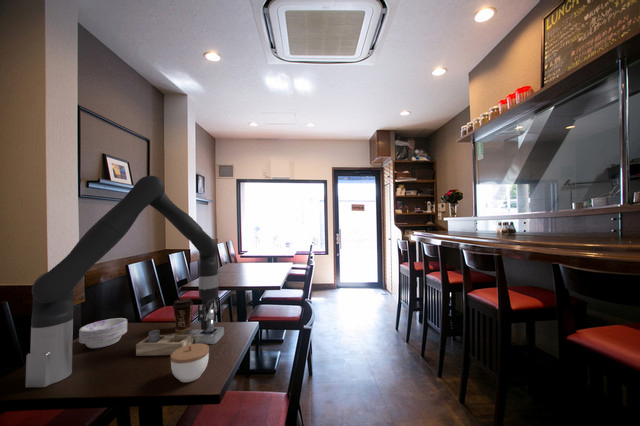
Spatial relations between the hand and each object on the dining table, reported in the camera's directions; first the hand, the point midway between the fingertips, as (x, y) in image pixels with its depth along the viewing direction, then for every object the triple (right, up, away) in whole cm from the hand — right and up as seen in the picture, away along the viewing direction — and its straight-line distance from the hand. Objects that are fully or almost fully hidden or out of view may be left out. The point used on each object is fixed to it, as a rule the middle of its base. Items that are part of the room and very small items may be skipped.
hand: (209, 325), depth 108 cm
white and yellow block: (-9, -6, 0) cm, 10 cm away
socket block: (0, -5, 0) cm, 5 cm away
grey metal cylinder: (0, -5, 0) cm, 5 cm away
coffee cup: (-17, -7, +12) cm, 22 cm away
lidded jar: (+6, -4, -28) cm, 28 cm away
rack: (-13, -5, -9) cm, 16 cm away
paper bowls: (-42, -7, -2) cm, 43 cm away
